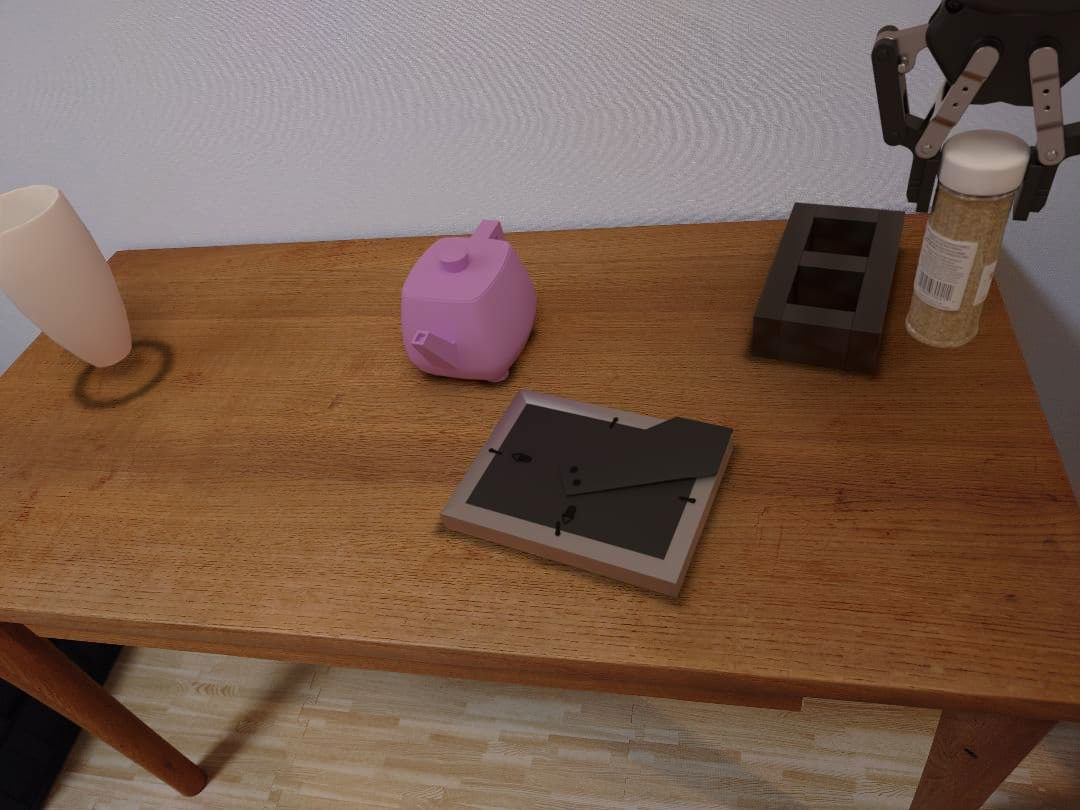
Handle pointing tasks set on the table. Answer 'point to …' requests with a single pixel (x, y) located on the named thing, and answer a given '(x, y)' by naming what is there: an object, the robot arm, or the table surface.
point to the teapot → (468, 306)
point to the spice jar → (964, 234)
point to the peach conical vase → (60, 275)
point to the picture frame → (594, 488)
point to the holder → (829, 287)
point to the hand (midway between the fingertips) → (970, 208)
